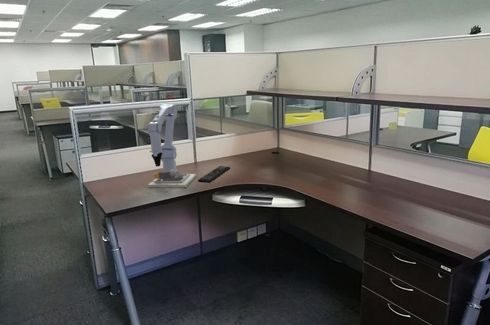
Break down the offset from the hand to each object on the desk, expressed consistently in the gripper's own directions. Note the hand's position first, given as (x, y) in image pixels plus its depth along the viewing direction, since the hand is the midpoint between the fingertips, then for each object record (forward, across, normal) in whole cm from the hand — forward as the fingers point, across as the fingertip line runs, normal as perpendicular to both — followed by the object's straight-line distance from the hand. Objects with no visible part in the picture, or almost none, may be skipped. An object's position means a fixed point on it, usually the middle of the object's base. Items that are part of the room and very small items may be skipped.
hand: (158, 165), depth 211 cm
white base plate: (+9, +3, +8) cm, 13 cm away
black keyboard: (+10, -7, +33) cm, 35 cm away
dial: (+8, +3, +6) cm, 10 cm away
